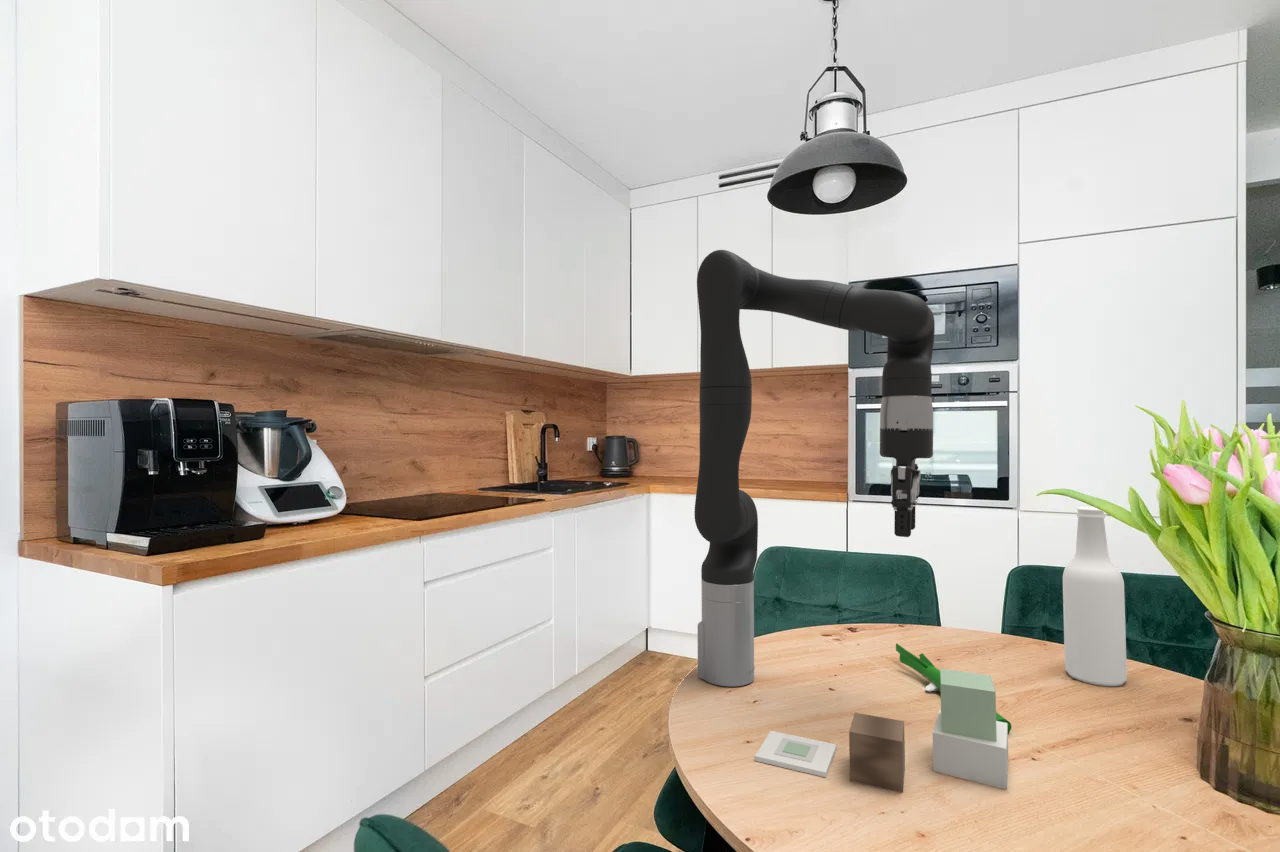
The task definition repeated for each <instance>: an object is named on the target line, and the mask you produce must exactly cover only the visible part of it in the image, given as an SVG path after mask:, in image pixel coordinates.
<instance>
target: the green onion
mask: <svg viewBox="0 0 1280 852" xmlns="http://www.w3.org/2000/svg"><path fill="white" fill-rule="evenodd" d="M895 651H896V652H898V654H899V662H900V663H901V664H903V665H906V666H908V667H909V668H911V669H913V670H914V671H916V672H918V673H919V674H921V675H922V676H924V677H925V678H926V679H928V680H929V681H930V683H929V684H927V685H926V686H925V691H927V692H933V691H934V692H939V693H940V694H941V685H940V669H938V668H937V667H936V666H935V665H934V664H933V663H932V662H931V660H930V659H928V657H927V656H926V655H925V654H924V653H923V652H921V653H920V654H919V655H918V656H919V657H917V656H916V655H914V654H913V653H912V652H910V651H908V650H907V649H905V647H903V646H902V645H900V644H898V643H895ZM996 721H999V722H1004V723H1007V726H1008V734H1009V733H1010V732H1011V731H1012V724H1011V722H1010V721H1009V720H1008V719H1007V718H1005V717H1004V716H1003V715H1001V714H999V713H998V712H997V711H996Z"/></svg>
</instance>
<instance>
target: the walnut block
mask: <svg viewBox="0 0 1280 852" xmlns="http://www.w3.org/2000/svg"><path fill="white" fill-rule="evenodd" d="M848 734H849V735H848V738H849V739H848V740H849V741H848V742H849V743H848V744H849V745H848V746H849V756H848V757H849V781H850V782H851V783H852V782H854V783H858V784H862V785H866V786H870V787H871V786H872V787H875V788H880V789H885V790H890V791H894V792H899V793H904V789H905V788H904V784H905V775H906V774H905V771H906V759H905V757H906V753H905V752H906V751H905V750H906V749H905V747H906V746H905V721H904V720H899V719H893V718H887V717H882V716H876V715H870V714H864V713H859V712H854V713H853V717H852V721H851V724H850V727H849V731H848Z"/></svg>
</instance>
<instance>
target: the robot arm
mask: <svg viewBox="0 0 1280 852" xmlns="http://www.w3.org/2000/svg"><path fill="white" fill-rule="evenodd" d="M696 291H697V292H696V293H697V303H698V313H699V325H700V347H699V348H700V352H699V353H700V354H699V356H700V358H699V360H700V366H699V367H700V369H699V372H700V377H699V406H698V407H699V409H698V410H699V464H698V465H699V467H698V475H697V484H696V494H695V503H694V512H693V513H694V522H695V525H696V528H697V531H698V533H699V534H700V536H702V538H704V540H706V541H707V542H708V543H709V547H708V552H707V555H706V557H705V558H704V560H703V562H702V563H701V568H700V569H701V571H700V573H701V574H700V575H701V576H700V577H701V580H700V581H701V621H699V622H698V623H697V679H702V680H704V681H706V682H707V683H710V684H712V685H716V686H720V687H741V686H743V687H744V686H745V685H746V686H747V685H748V684H751V683H752V682H754V680H755V610H754V609H755V604H754V603H755V602H754V601H755V600H754V599H755V598H754V597H755V594H754V592H755V591H754V590H755V589H754V588H755V585H754V572H755V567H756V563H757V560H758V543H759V542H758V541H759V538H758V537H759V532H758V531H759V521H758V520H759V517H758V510H757V506H756V504H755V502H754V500H753V498H752V497H751V496H750V494H748V493H747V492H746V491H744V490H742V489H740V479H739V476H740V475H739V474H740V473H739V471H740V462H741V461H740V460H741V455H742V451H743V447H744V444H745V442H746V441H745V440H746V438H747V434H748V431H749V427H750V423H751V418H752V408H753V407H752V398H753V397H752V396H753V395H752V394H753V393H752V392H753V391H752V389H753V388H752V385H753V383H752V382H753V381H752V375H751V370H750V366H749V365H750V364H749V361H748V357H747V354H746V351H745V350H746V349H745V347H744V344H743V338H742V335H741V327H740V314H741V310H749V311H762V312H770V313H771V312H773V313H779V314H783V315H787V316H791V317H794V318H799V319H802V320H806V321H809V322H812V323H813V322H814V323H816V324H820V325H824V326H829V327H833V328H837V329H842V330H845V331H851V332H852V331H854V332H857V331H863V332H867V333H871V334H876V335H880V336H882V337H886V338H887V353H886V354H887V356H886V357H887V358H886V359H887V360H886V362H885V364H884V365H883V368H882V377H881V397H882V398H881V405H880V411H879V412H880V413H879V455H880V456H881V457H883V458H890V459H891V458H892V459H895V465H892V468H891V469H890V481H891V485H890V486H891V487H890V493H891V502H890V503H891V507H892V508H893V511H894V524H893V525H894V533H893V534H894V535H895V536H896V537H900V538H901V537H902V538H909V537H911V535H912V531H913V530H915V528H916V506H917V504H918V499H919V495H920V482H921V477H922V476H921V470H920V469H919V466H918V463H916V460H917V459H931V458H932V457H933V455H934V407H933V401H932V400H933V399H932V389H933V388H932V385H933V384H932V382H933V381H932V379H933V378H932V377H933V375H932V374H933V373H932V357H933V353H934V351H933V350H934V345H935V344H934V342H935V341H934V340H935V317H934V314H933V311H932V310H931V308H930V306H929V305H928V304H927V303H926V301H924V299H922V298H921V297H919V296H917V295H915V294H911V293H908V292H905V291H904V292H903V291H895V290H889V289H888V290H886V289H869V288H863V287H861V286H855V285H851V284H847V283H843V282H837V281H831V280H824V279H799V278H788V277H783V276H780V275H776V274H773V273H769V272H768V271H765V270H762V269H759V268H758V267H755V266H753V265H752V264H751V263H750V262H748V260H745V259H744V258H742V257H741V256H739V255H738V254H736V253H734V252H732V251H729V250H726V249H717V250H714V251H712V252H710V253H708V254H707V255H706V256H705V257H704V259H703V260H702V261H701V263H700V265H699V268H698V272H697V275H696Z"/></svg>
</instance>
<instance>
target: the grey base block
mask: <svg viewBox="0 0 1280 852" xmlns="http://www.w3.org/2000/svg"><path fill="white" fill-rule="evenodd" d="M996 738H997V742H996V741H990V740H985V739H979V738H973V737H968V736H962V735H956V734H951V733H945V732H942V724H941V709H939V710H938V714H937V717H936V721H935V723H934V726H933V730H932V766H933V767H932V771H933V772H937V773H940V774H944V775H948V776H952V777H956V778H961V779H964V780H968V781H972V782H975V783H979V784H983V785H984V784H985V785H987V786H991V787H996V788H998V789H999V788H1000V789H1004V790H1008V780H1009V779H1008V777H1009V774H1008V773H1009V733H1008V726H1007V723H1004V722H999V721H996Z"/></svg>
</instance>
